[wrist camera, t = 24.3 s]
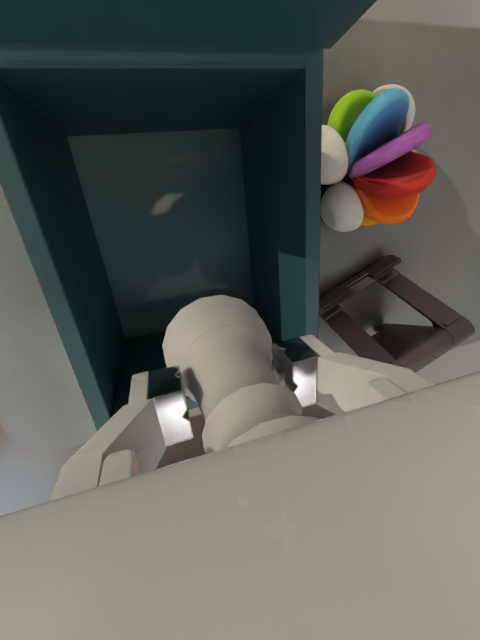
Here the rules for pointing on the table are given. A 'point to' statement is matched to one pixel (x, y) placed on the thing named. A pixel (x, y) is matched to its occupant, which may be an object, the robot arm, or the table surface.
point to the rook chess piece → (230, 372)
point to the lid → (181, 22)
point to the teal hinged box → (162, 192)
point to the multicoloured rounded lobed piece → (373, 159)
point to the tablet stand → (396, 339)
